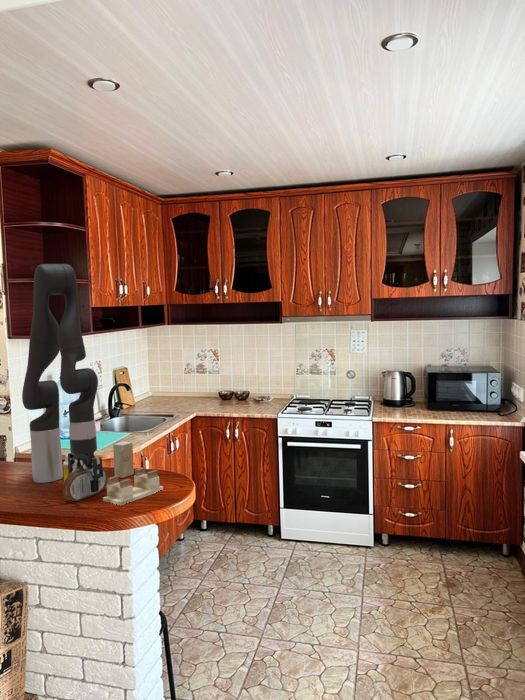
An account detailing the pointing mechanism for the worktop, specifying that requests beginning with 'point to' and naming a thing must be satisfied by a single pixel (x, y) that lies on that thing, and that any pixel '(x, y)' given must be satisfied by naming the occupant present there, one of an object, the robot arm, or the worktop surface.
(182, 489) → the worktop surface
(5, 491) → the worktop surface
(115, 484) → the cradle
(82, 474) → the tin
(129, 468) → the box
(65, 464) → the supplement bottle
